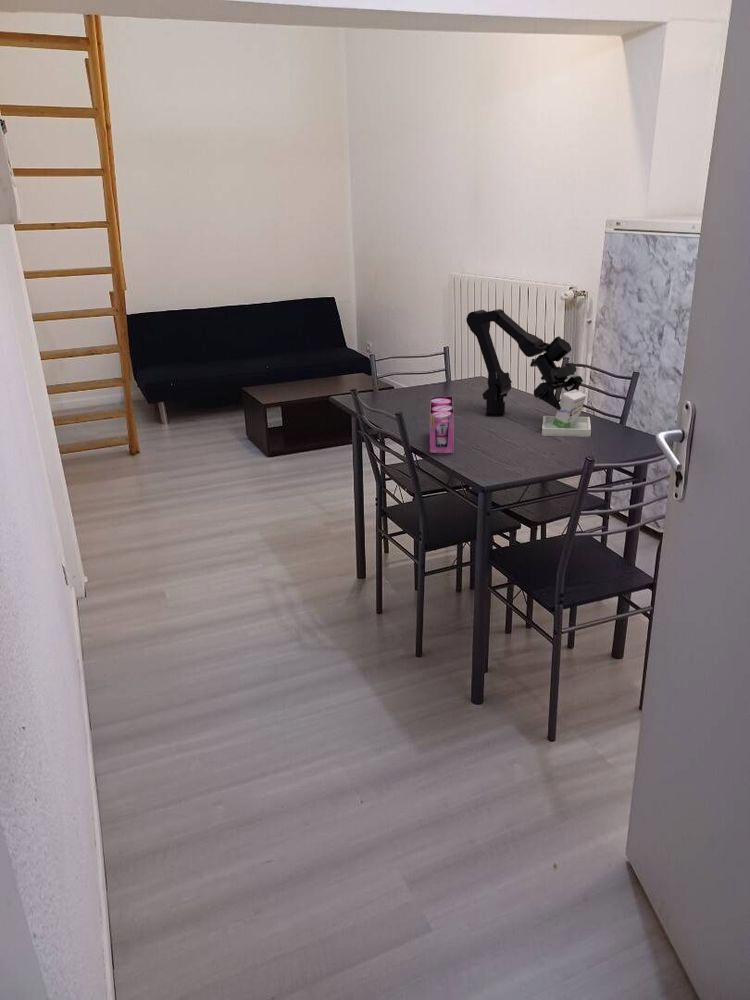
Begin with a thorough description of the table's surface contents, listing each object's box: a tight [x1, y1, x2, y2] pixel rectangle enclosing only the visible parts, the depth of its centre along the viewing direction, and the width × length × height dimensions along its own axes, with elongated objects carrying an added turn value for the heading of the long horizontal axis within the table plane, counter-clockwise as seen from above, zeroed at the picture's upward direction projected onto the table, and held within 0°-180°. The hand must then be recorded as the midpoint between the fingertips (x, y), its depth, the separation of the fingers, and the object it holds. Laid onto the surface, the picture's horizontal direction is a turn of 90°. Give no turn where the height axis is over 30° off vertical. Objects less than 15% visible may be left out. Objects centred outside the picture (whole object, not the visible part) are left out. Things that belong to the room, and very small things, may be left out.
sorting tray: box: [541, 415, 592, 438], centre depth 263 cm, size 16×16×2 cm
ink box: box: [553, 390, 587, 428], centre depth 260 cm, size 8×5×12 cm, turn 136°
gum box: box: [429, 396, 455, 453], centre depth 251 cm, size 24×8×14 cm, turn 175°
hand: (569, 407), depth 259 cm, fingers closed on ink box, 9 cm apart
